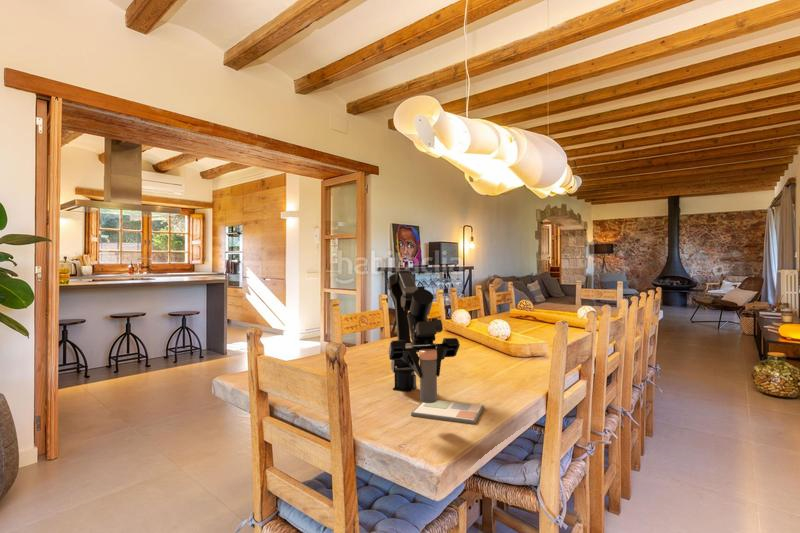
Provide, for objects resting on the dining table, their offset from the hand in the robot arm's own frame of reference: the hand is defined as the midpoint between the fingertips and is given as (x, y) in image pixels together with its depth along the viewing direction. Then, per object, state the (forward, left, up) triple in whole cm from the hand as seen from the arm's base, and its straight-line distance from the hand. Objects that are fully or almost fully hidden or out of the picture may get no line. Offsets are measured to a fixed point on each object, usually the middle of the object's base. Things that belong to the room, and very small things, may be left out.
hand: (429, 376), depth 107 cm
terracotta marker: (-1, +1, -7) cm, 7 cm away
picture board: (+1, +13, -13) cm, 19 cm away
